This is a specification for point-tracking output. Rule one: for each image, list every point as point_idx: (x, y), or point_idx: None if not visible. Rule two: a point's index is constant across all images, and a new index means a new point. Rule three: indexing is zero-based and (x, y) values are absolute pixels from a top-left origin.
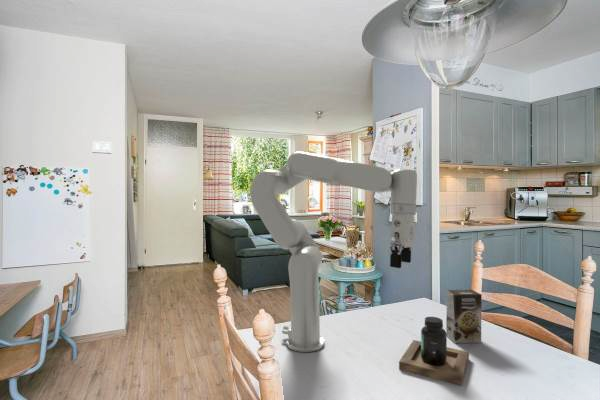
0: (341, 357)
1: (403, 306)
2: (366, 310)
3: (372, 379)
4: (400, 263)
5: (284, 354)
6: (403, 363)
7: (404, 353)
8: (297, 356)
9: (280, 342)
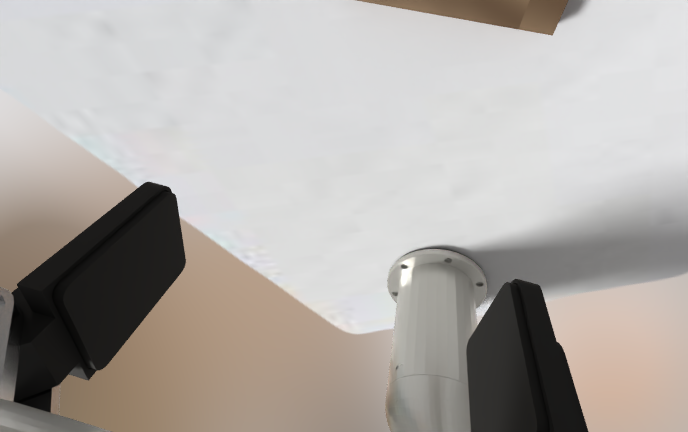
0: (492, 202)
1: (18, 72)
2: None
3: (626, 105)
4: (548, 327)
5: None
6: (558, 16)
7: (480, 21)
8: None
9: None
